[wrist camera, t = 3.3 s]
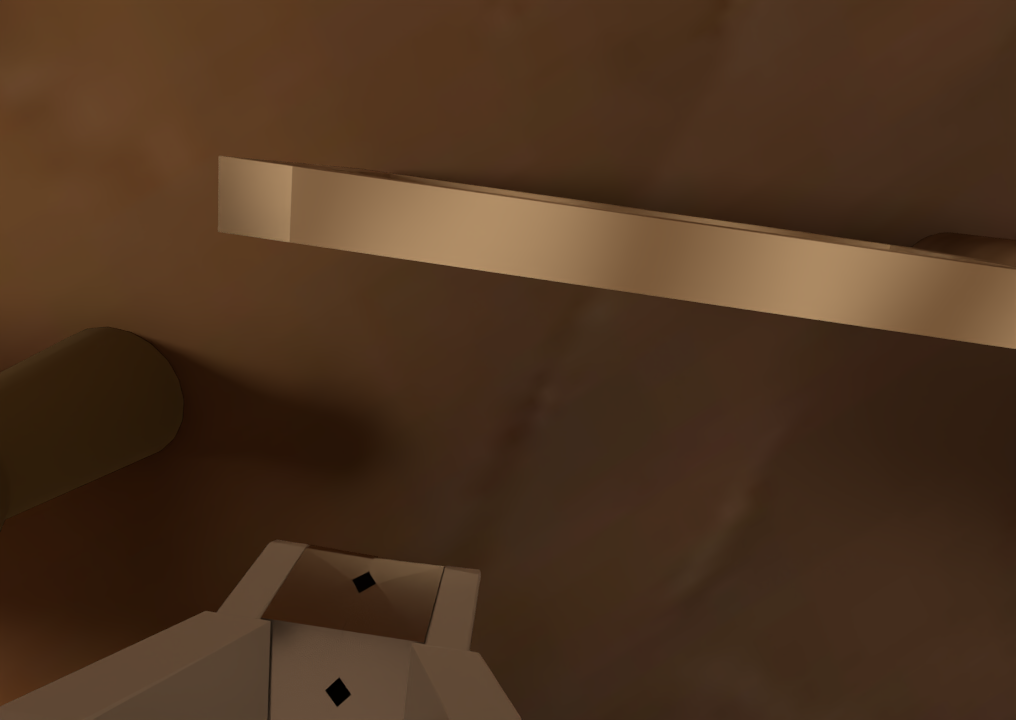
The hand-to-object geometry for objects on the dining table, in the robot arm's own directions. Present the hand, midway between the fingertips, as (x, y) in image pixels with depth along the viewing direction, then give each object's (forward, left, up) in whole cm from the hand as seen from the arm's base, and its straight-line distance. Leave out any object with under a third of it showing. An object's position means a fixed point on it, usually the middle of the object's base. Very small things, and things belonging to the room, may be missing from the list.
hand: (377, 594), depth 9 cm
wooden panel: (-5, -5, -16) cm, 17 cm away
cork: (+16, +5, -17) cm, 24 cm away
